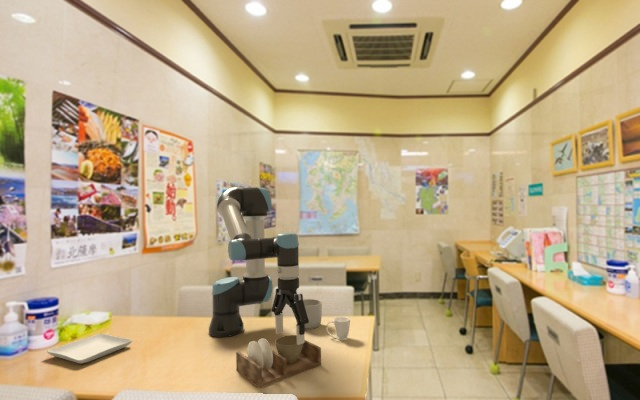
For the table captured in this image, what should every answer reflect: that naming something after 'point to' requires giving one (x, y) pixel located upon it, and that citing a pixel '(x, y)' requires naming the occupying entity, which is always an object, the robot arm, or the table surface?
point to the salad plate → (90, 348)
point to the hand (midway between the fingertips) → (289, 338)
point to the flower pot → (288, 347)
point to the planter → (313, 312)
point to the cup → (341, 327)
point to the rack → (279, 365)
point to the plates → (261, 353)
